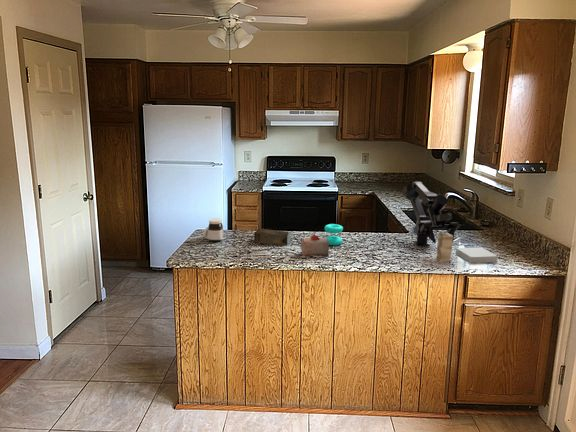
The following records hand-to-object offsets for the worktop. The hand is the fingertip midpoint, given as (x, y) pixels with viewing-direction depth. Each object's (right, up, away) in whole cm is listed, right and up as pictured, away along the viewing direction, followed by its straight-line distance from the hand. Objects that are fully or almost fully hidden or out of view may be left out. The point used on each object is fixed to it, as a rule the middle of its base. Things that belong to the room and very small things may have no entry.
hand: (444, 242), depth 226 cm
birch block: (0, -9, +1) cm, 9 cm away
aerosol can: (+7, +5, +56) cm, 57 cm away
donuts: (-52, -2, +25) cm, 58 cm away
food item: (-63, -6, +6) cm, 64 cm away
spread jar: (-118, 0, +27) cm, 122 cm away
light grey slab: (+18, -8, +5) cm, 20 cm away
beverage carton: (-85, -2, +25) cm, 89 cm away
